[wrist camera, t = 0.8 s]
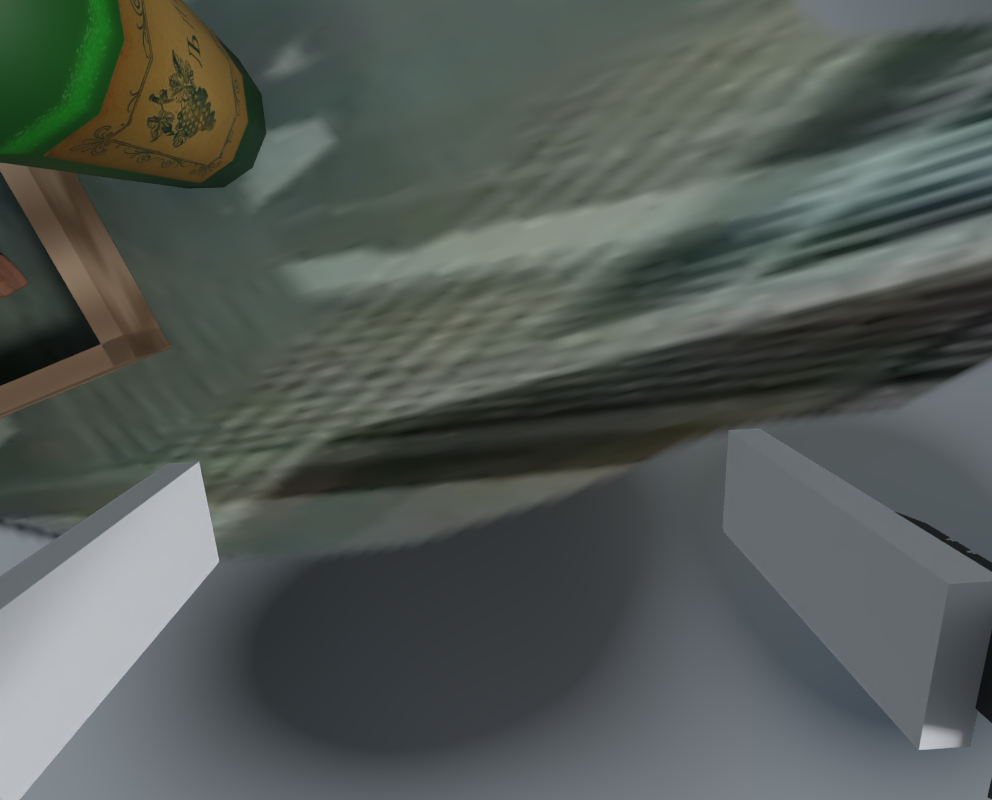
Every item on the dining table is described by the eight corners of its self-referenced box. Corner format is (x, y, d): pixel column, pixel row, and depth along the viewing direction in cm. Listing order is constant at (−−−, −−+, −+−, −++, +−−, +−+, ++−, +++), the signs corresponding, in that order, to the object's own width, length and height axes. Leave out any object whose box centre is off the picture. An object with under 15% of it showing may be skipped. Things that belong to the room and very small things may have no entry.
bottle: (311, 179, 35) (-248, -97, 8) (156, 229, 36) (-867, 126, 9) (245, -5, 33) (-901, -1313, 6) (79, 51, 33) (-1740, -903, 6)
